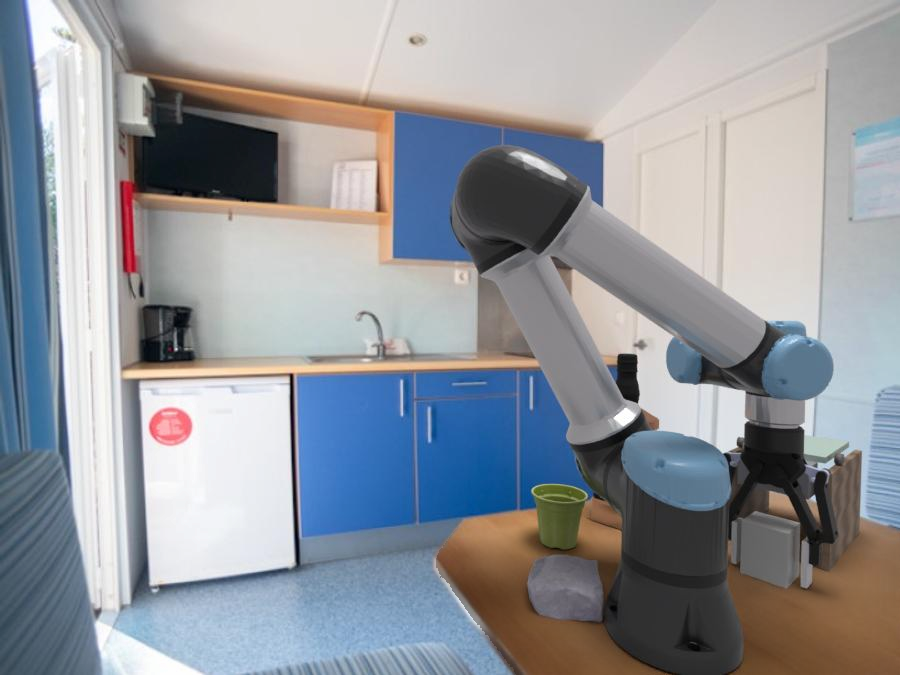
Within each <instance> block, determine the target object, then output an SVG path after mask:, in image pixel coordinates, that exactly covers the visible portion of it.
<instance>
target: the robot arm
mask: <svg viewBox="0 0 900 675" xmlns="http://www.w3.org/2000/svg"><path fill="white" fill-rule="evenodd" d="M449 204H450V205H449V210H448V212H449V213H448V216H449V217H448V218H449V225H450V226H449V227H450V229H451V233H452V235H453V237H454V239H455V242H456V243H458V244H459V246H460V247H461V248H462V249H463V250H464V251H465V252H466V253H468V255H469V257H470V258H471V261H472V262H473V265H474V267H475V268H476V270H477V272H478V274H479V276H480V277H481V278H483V279H486V280H489V281H492V282H494V283H495V284H496V286H497V288H498V290H499V291H500V293H501V295H502V297H503V299H504V301H505V302H506V305H507V306H508V308H509V310H510V312H511V314H512V316H513V318H514V321H515V322H516V325H518V328H519V329H520V332H521V333H522V335H523V337H524V339H525V340H526V343H527V345H528V346H529V349H530V350H531V352H532V354H533V356H534V358H535V360H536V362H537V363H538V366H539V368H540V369H541V371H542V373H543V375H544V376H545V379H546V381H547V383H548V385H549V386H550V388H551V390H552V393H553V394H554V396H555V398H556V400H557V402H558V404H559V406H560V407H561V409H562V411H563V413H564V415H565V417H566V418H567V421H568V422H569V426H568V428H567V431H566V434H565V438H566V441H567V442H568V444H569V446H570V449H571V450H572V452H573V454H574V462H575V466H576V469H577V471H578V474H579V475H580V477H581V478H582V480H583V482H584V483H585V485H586V486H587V487H588V488H589V489H590V490H591V491H592V493H593V492H595V493H596V494H597V495H599V496H601V497H602V498H603V499H604V500H605V501H606V502H607V503H608V504H609V505H610V506H611V507H612V508H613V509H614V510H615V511H616V512H617V513H618V514H619V515H620V516H621V518H622V530H621V536H620V537H621V540H620V541H621V544H620V546H621V547H620V548H621V549H620V552H621V554H620V563H619V565H618V567H617V569H616V573H615V576H614V577H613V578H614V579H613V581H612V583H611V585H610V588H609V591H608V593H607V596H606V599H605V606H604V608H605V609H604V610H605V612H604V622H605V627H606V629H607V632H608V633H609V635H610V637H611V638H612V639H613V641H615V643H616V644H617V645H618V646H620V648H621V649H622V650H624V651H626V652H627V653H628V654H629V655H631V656H633V657H634V658H636V659H638V660H640V661H641V662H644V663H645V664H647V665H649V666H653V667H654V668H656V669H657V668H658V669H660V670H663V671H665V672H669V673H673V674H676V675H677V674H678V675H726V674H728V673H730V672H732V671H734V670H736V669H737V668H738V667H739V666H740V665H741V662H742V661H743V658H744V633H743V629H742V625H741V622H740V619H739V616H738V612H737V610H736V606H735V602H734V600H733V597H732V594H731V591H730V588H729V585H728V557H729V556H728V554H729V553H728V552H729V551H728V550H729V540H728V539H731V540H730V541H731V542H730V545H731V547H730V548H731V549H730V550H731V551H730V552H731V553H730V563H732V564H734V565H737V564H738V563H740V562H741V523H742V520H743V518H739V517H738V518H737V516H738V515H739V513H740V511H741V509H742V508H743V506H744V505H745V503H746V501H747V500H748V498H749V497H750V495H751V494H752V492H753V490H754V489H755V487H756V486H757V484H758V483H760V484H770V485H773V486H775V487H778V488H783V490H784V492H785V494H786V496H787V497H788V499H789V501H790V504H791V505H792V507H793V510H794V512H795V514H796V516H797V519H798V520H799V523H800V526H801V527H802V530H803V531H804V534H805V535H806V537H804V539H803V540H802V541H801V547H802V550H801V562H800V588H803V589H808V588H809V587H810V585H811V584H813V566H812V565H815V566H818V564H819V563H820V562H821V556H822V543H829V544H833V543H834V542H835V541H836V540H837V539H838V537H839V534H838V529H837V525H836V520H835V515H834V510H833V505H832V501H831V496H830V491H829V486H828V484H829V480H830V476H831V472H830V470H828V469H829V468H825V467H824V468H819V467H818V468H815V467H812V466H809V465H807V462H806V461H805V459H804V435H805V432H806V431H805V429H804V428H803V427H802V426H801V425H803V424H804V423H805V422H806V421H805V420H806V419H805V418H806V401H809V400H811V399H814V398H816V397H819V395H821V394H822V393H823V392H824V391H825V390H826V389H827V387H828V386H829V383H830V382H831V381H832V378H833V376H834V371H835V370H834V366H835V365H834V359H833V355H832V353H831V352H830V350H829V349H828V347H827V346H826V345H825V344H824V343H823V342H821V341H820V340H818V339H816V338H813V337H811V336H808V334H807V329H806V326H805V324H804V323H803V322H801V321H798V320H765V319H763V318H761V317H760V316H759V315H757V313H755V312H753V311H752V310H750V309H749V308H748V307H746V306H745V305H743V304H742V303H740V302H739V301H737V300H736V299H734V298H733V297H732V296H731V295H729V294H727V293H726V292H724V291H723V290H721V288H718V287H717V286H716V285H715V284H713V283H712V282H710V281H709V280H708V279H706V278H704V277H703V276H702V275H700V274H699V273H698V272H696V271H694V270H693V269H691V268H690V267H689V266H687V265H686V264H684V263H683V262H681V261H680V260H678V259H677V258H676V257H674V256H673V255H671V254H670V253H669V252H667V251H666V250H664V249H663V248H662V247H660V246H658V245H657V244H656V243H654V242H653V241H652V240H650V239H648V238H647V237H646V236H644V235H642V234H641V233H640V232H638V231H637V230H636V229H634V228H632V227H631V226H630V225H628V224H627V223H625V222H624V221H623V220H621V219H620V218H618V217H617V216H615V215H614V214H612V213H611V212H610V211H608V210H607V209H605V208H604V207H602V206H601V205H600V204H598V203H597V202H595V201H594V200H593V199H592V193H591V188H590V186H589V185H587V184H586V183H585V182H583V181H582V180H580V179H579V178H577V177H576V176H575V175H573V174H572V173H570V171H568V170H566V169H564V168H563V167H561V166H560V165H558V164H557V163H556V162H553V161H551V160H550V159H548V158H546V157H544V156H543V155H541V154H539V153H538V152H535V151H533V150H529V149H528V148H525V147H522V146H517V145H513V144H499V145H493V146H489V147H486V148H485V149H482V150H481V151H479V152H478V153H476V154H475V155H474V156H472V157H471V158H470V159H469V160H468V161H467V162H466V163H465V164H464V166H463V168H462V170H461V171H460V172H459V175H458V178H457V181H456V186H455V191H454V193H453V196H452V198H451V201H450V203H449ZM551 255H552V256H553V257H556V258H557V259H558V260H560V261H562V262H563V263H564V264H566V265H567V266H568V267H570V268H572V269H573V270H575V271H577V272H578V273H579V274H581V275H582V276H584V277H585V278H586V279H589V280H590V281H591V282H593V283H595V284H596V286H598V287H600V288H601V289H603V290H605V291H606V292H607V293H609V294H610V295H611V296H613V297H615V298H616V299H618V300H619V301H620V302H622V303H624V304H626V306H628V307H630V308H631V309H633V310H634V311H636V312H637V313H638V314H640V315H642V316H643V317H645V318H646V319H648V320H649V321H651V322H652V323H653V324H655V325H657V326H658V327H659V328H661V329H662V330H664V331H665V332H666V333H668V334H670V335H671V336H673V337H672V338H671V339H670V341H669V343H668V345H667V347H666V353H665V364H666V368H667V372H668V374H669V376H670V377H671V378H672V379H673V380H674V381H675V382H677V383H678V384H686V385H687V384H688V385H694V386H698V385H713V386H718V387H723V388H727V389H732V390H733V389H734V390H736V391H744V392H745V393H744V394H745V396H744V398H745V399H744V402H745V403H744V418H745V419H746V420H748V421H746V422H745V423H744V430H743V431H744V434H743V436H744V437H743V438H744V450H743V451H742V453H734V452H732V451H730V450H728V451H726V452H724V453H723V452H722V451H721V450H720V449H718V448H717V447H716V446H715V445H713V444H711V443H710V442H707V441H706V440H703V439H701V438H697V437H695V436H689V435H685V434H684V433H679V432H675V431H667V430H656V431H654V430H653V431H652V429H651V427H650V425H649V423H648V421H647V419H646V417H645V415H644V413H643V411H642V410H641V408H642V407H641V405H639V403H638V404H637V403H635V402H632V401H629V400H626V399H624V398H623V396H622V394H621V392H620V390H619V389H618V387H617V385H616V380H615V379H614V378H613V374H612V373H611V372H610V369H609V368H608V365H607V364H606V363H607V362H605V360H604V358H603V356H602V354H601V352H600V350H599V348H598V347H597V344H596V342H595V340H594V338H593V336H592V334H591V332H590V331H589V329H588V327H587V325H586V323H585V321H584V319H583V317H582V315H581V314H580V312H579V310H578V308H577V306H576V304H575V302H574V300H573V298H572V296H571V294H570V292H569V289H567V287H566V284H565V283H564V280H563V279H562V276H561V275H560V273H559V271H558V269H557V267H556V265H555V264H554V261H553V259H552V258H551ZM740 461H742V462H743V464H744V465H745V467H746V468H747V469H748V471H749V474H748V476H747V477H746V479H745V481H744V483H743V485H742V487H741V488H740V490H739V492H738V493H737V495H736V496H735V498H734V500H733V501H732V503H731V504H730V506H729V499H730V498H729V497H730V495H731V486H732V482H733V479H734V475H735V471H736V466H738V465H739V463H740ZM804 473H806V474H808V476H809V480H810V481H811V482H812V483H814V493H815V495H814V496H815V498H814V499H815V502H816V506H817V512H818V516H819V521H820V522H819V523H820V526H821V529H820V526H819V525H818V522H817V520H816V518H815V516H814V514H813V511H812V510H811V507H810V505H809V503H808V500H807V499H805V497H804V495H803V493H802V488H801V486H800V484H799V482H798V478H799V477H800V476H802V475H803V474H804ZM785 494H784V495H785ZM821 530H822V531H821ZM815 566H814V567H815Z"/></svg>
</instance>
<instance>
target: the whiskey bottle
mask: <svg viewBox="0 0 900 675" xmlns="http://www.w3.org/2000/svg"><path fill="white" fill-rule="evenodd" d="M616 357H617V358H616V359H617V360H616V363H617V365H616V374H617V376H616V380H615V383H616V385H617V387H618V389H619V390H620V392H621V394H622V396H623V398H624V399H626V400H629V401H632V402H635V403H637V404H639V402H640V401H639V400H640V395H641V391H640V385H639V382H638V372H639V371H638V364H639V361H638V360H639V359H638V354H636V353H625V352H624V353H618V354H617V356H616ZM640 408H641V410H642V411H643V413H644V415H645V417H646V419H647V421H648V423H649V425H650V427H651V429H652V431H653V430H654V431H659V429H660V419H659V418H658V417H656V416H654V415H653V414H651V413H650V412H648V411H647V410H645V409H643V408H642V407H640ZM592 493H593V494H592V497H591V498H590V503H589V517H588V518H590V520H591V521H594V522H597V523H600V524H602V525H606V526H609V527H612V528H615V529H618V530H620V531H622V518H621V516H620V515H619V514H618V513H617V512H616V511H615V510H614V509H613V508H612V507H611V506H610V505H609V504H608V503H607V502H606V501H605V500H604V499H603V498H602V497H601V496H599V495H597V494H596V493H595V492H593V491H592Z"/></svg>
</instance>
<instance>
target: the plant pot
mask: <svg viewBox="0 0 900 675" xmlns="http://www.w3.org/2000/svg"><path fill="white" fill-rule="evenodd" d="M531 495H532V497H533V499H534V500H533V501H534V503H535V504H536V505H535V506H536V508H535V509H536V515H537V523H538V524H537V525H538V533H539V541H540V542H541V544H542V545H544V546H546V547H547V548H551V549H554V548H556V549H557V548H558V549H560V550H564V551H566V550H570V549H573V548H575V547H576V545H577V543H578V536H579V531H580V524H581V520H582V513H583V508H584V507H585V504H586V501H587V500H588V498H589V495H588V493H587V492H586V491H584V490H583V489H581V488H579V487H576V486H573V485H567V484H562V483H561V484H560V483H542V484H538V485H535V486H534V487H532V488H531Z"/></svg>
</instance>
